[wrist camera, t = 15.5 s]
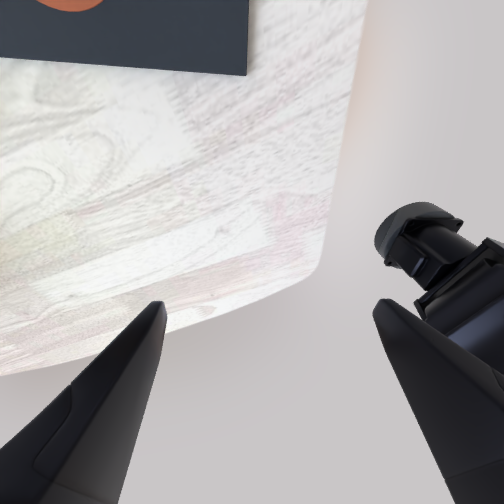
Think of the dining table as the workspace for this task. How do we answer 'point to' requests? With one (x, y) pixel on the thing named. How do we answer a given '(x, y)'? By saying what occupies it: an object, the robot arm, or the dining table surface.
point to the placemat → (129, 33)
